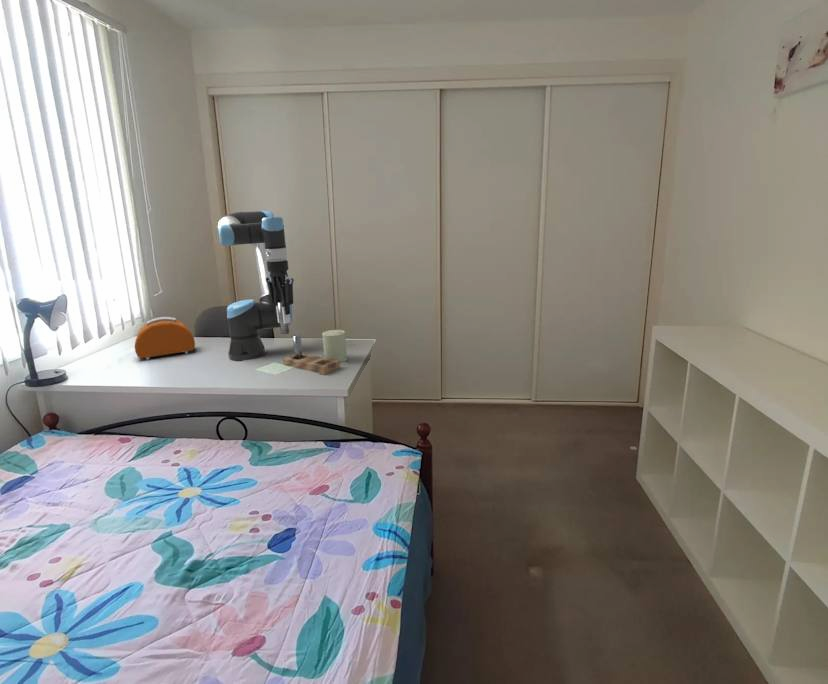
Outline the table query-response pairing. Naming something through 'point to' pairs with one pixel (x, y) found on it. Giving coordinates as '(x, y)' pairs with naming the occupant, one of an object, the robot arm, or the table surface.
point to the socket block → (312, 363)
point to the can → (334, 345)
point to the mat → (274, 368)
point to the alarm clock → (163, 338)
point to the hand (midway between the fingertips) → (284, 322)
